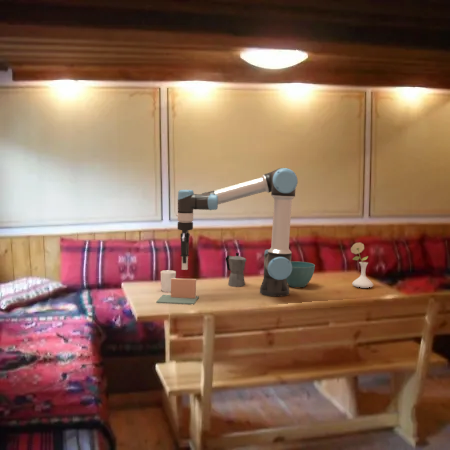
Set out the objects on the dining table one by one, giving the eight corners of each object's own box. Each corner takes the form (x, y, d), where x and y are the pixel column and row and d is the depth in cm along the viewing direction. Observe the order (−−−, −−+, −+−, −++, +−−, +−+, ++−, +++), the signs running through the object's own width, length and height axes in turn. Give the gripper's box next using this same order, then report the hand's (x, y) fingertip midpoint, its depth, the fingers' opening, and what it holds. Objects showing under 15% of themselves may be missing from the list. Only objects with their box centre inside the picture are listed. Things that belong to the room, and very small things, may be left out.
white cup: (161, 292, 306) (161, 273, 305) (159, 289, 314) (159, 270, 313) (176, 292, 308) (176, 272, 307) (174, 288, 316) (174, 270, 315)
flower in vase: (371, 285, 336) (373, 241, 333) (374, 289, 325) (376, 244, 322) (347, 284, 337) (349, 240, 335) (350, 288, 326) (352, 243, 323)
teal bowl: (320, 288, 325) (321, 266, 323) (290, 290, 318) (291, 267, 317) (303, 282, 341) (304, 260, 340) (275, 283, 335) (275, 262, 333)
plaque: (195, 297, 294) (196, 279, 293) (195, 298, 292) (195, 280, 291) (171, 296, 296) (171, 278, 295) (170, 297, 293) (171, 279, 293)
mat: (198, 297, 297) (198, 296, 297) (193, 304, 282) (193, 303, 282) (162, 295, 299) (162, 294, 299) (156, 302, 284) (156, 301, 284)
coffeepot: (251, 286, 327) (252, 253, 325) (239, 288, 320) (239, 255, 319) (231, 281, 338) (232, 250, 336) (219, 283, 332) (220, 251, 330)
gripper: (179, 220, 298) (179, 266, 301) (175, 222, 285) (174, 271, 288) (194, 220, 297) (194, 267, 300) (191, 223, 284) (190, 272, 287)
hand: (184, 269), depth 294 cm, fingers closed
